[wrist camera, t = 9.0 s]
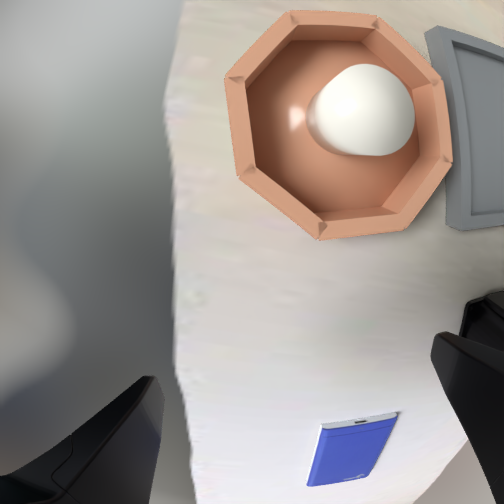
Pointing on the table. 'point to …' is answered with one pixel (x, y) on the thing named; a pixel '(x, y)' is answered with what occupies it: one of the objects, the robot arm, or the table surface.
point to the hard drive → (348, 449)
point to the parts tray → (472, 126)
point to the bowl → (303, 145)
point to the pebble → (361, 113)
